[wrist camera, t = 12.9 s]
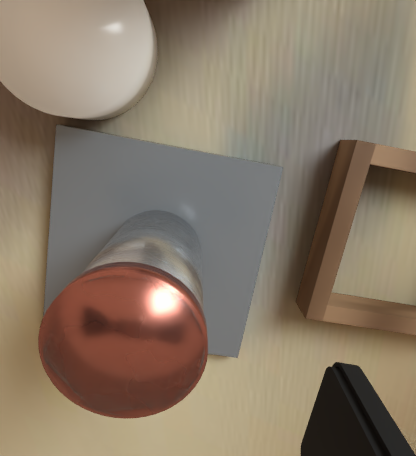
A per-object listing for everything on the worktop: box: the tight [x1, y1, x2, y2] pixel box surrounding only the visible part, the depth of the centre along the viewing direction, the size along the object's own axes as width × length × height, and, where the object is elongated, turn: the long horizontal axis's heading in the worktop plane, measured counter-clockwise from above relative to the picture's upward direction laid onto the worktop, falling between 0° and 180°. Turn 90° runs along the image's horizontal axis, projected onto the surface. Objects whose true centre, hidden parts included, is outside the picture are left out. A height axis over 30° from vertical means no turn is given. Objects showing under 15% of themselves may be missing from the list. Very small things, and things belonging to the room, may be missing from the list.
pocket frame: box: [296, 140, 416, 335], centre depth 19 cm, size 10×10×2 cm
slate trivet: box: [43, 125, 283, 358], centre depth 19 cm, size 12×12×1 cm
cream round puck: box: [0, 0, 158, 120], centre depth 15 cm, size 7×7×4 cm
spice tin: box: [39, 210, 208, 418], centre depth 15 cm, size 5×5×9 cm
